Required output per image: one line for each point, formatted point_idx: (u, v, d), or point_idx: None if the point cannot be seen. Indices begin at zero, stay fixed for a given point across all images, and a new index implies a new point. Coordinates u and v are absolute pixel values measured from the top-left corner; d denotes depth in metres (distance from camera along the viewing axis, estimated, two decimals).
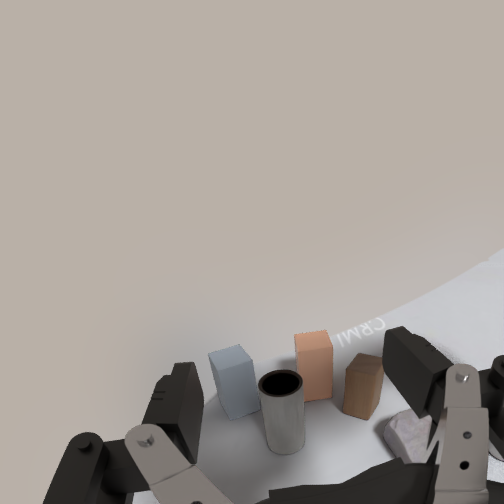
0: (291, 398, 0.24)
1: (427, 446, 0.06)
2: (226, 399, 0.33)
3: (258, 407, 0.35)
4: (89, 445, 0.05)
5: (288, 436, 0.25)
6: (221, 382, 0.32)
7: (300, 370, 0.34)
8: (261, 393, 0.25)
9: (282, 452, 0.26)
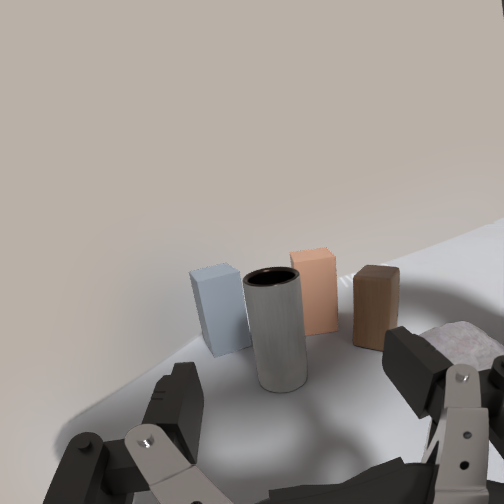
0: (285, 290, 0.20)
1: (427, 446, 0.06)
2: (208, 325, 0.29)
3: (249, 342, 0.31)
4: (89, 445, 0.05)
5: (284, 358, 0.21)
6: (202, 299, 0.28)
7: None
8: (246, 287, 0.21)
9: (278, 389, 0.22)
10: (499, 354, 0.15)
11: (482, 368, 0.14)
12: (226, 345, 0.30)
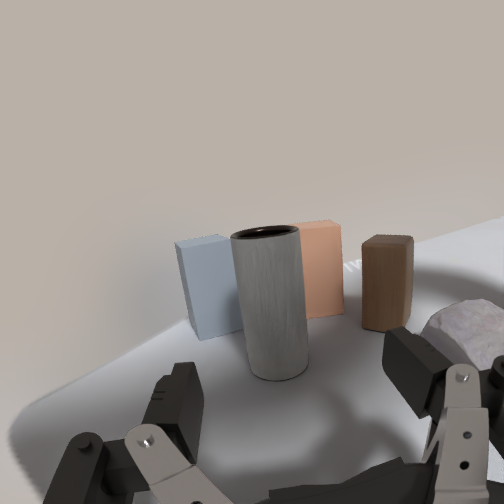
0: (281, 244, 0.17)
1: (427, 446, 0.06)
2: (193, 301, 0.25)
3: (240, 324, 0.27)
4: (89, 445, 0.05)
5: (279, 335, 0.18)
6: (186, 270, 0.24)
7: None
8: (233, 242, 0.18)
9: (272, 375, 0.18)
10: None
11: None
12: (214, 327, 0.26)
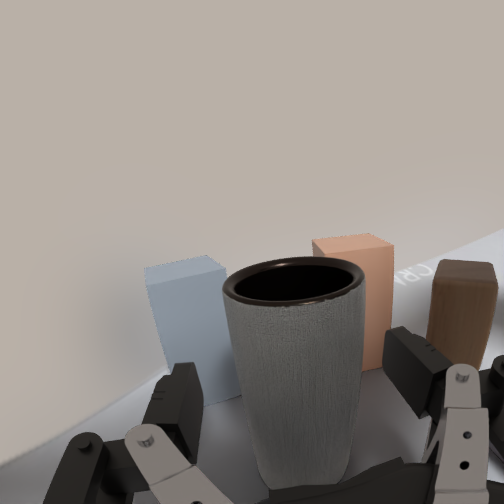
0: (338, 316, 0.07)
1: (427, 446, 0.06)
2: (170, 362, 0.15)
3: None
4: (89, 445, 0.05)
5: (314, 457, 0.08)
6: (156, 318, 0.15)
7: None
8: (229, 305, 0.08)
9: None
10: None
11: None
12: (204, 394, 0.16)
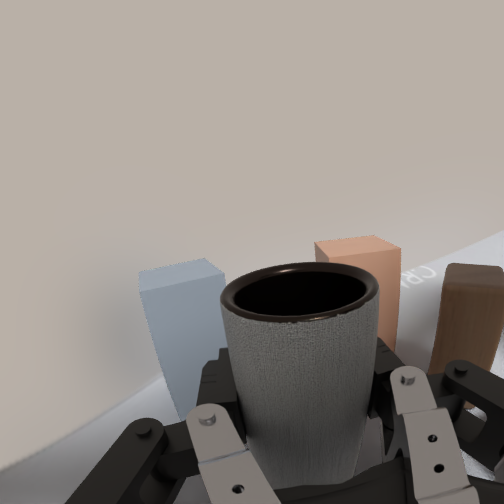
0: (351, 332, 0.06)
1: (385, 451, 0.06)
2: (166, 372, 0.14)
3: None
4: (149, 431, 0.06)
5: (319, 476, 0.07)
6: (150, 325, 0.14)
7: None
8: (228, 318, 0.07)
9: None
10: None
11: None
12: None
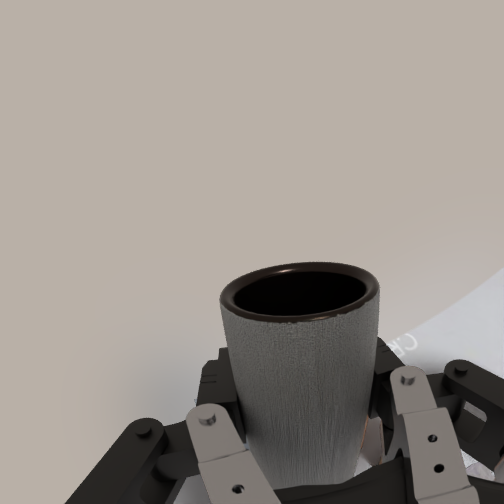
0: (351, 332, 0.06)
1: (385, 451, 0.06)
2: None
3: None
4: (149, 430, 0.06)
5: (319, 476, 0.07)
6: None
7: None
8: (227, 318, 0.07)
9: None
10: None
11: None
12: None
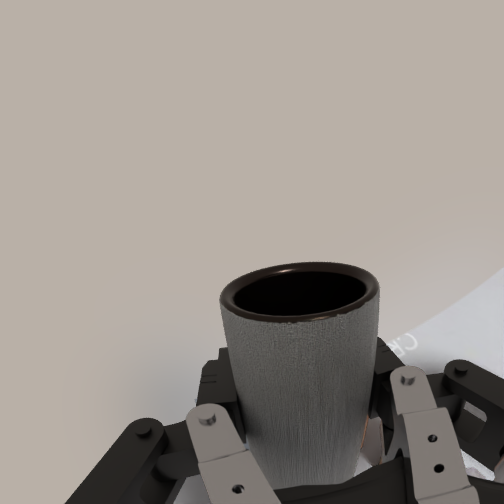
0: (351, 332, 0.06)
1: (385, 451, 0.06)
2: None
3: None
4: (149, 430, 0.06)
5: (319, 476, 0.07)
6: None
7: None
8: (227, 318, 0.07)
9: None
10: None
11: None
12: None
